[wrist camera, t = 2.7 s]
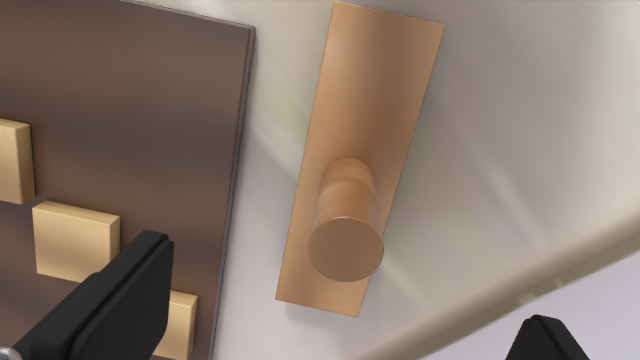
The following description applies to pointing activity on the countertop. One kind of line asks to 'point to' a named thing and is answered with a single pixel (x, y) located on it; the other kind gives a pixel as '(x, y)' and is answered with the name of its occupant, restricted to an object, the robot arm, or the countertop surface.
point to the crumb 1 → (16, 162)
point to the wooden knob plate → (355, 153)
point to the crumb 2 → (73, 240)
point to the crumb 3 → (179, 327)
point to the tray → (123, 139)
